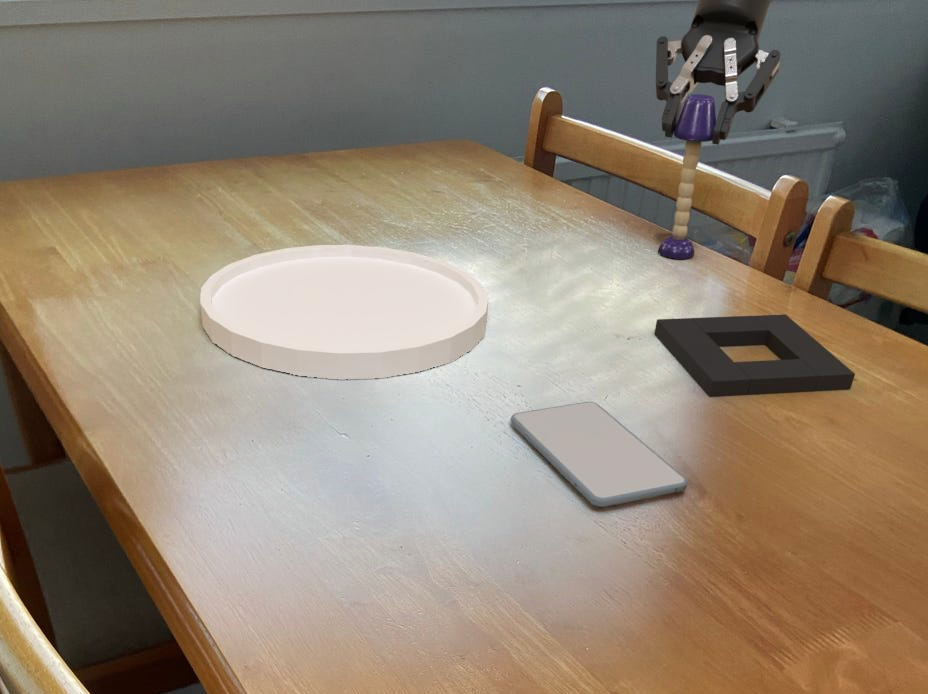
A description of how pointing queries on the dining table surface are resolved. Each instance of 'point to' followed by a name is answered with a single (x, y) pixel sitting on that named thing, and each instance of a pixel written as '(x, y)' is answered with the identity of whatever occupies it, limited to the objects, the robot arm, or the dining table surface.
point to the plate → (344, 311)
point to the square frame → (720, 376)
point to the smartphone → (598, 454)
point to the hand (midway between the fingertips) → (692, 135)
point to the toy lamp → (689, 168)
